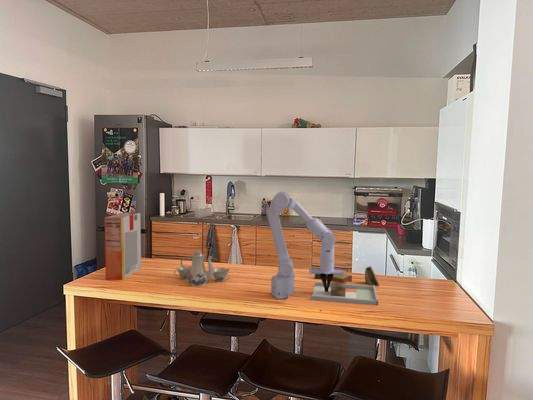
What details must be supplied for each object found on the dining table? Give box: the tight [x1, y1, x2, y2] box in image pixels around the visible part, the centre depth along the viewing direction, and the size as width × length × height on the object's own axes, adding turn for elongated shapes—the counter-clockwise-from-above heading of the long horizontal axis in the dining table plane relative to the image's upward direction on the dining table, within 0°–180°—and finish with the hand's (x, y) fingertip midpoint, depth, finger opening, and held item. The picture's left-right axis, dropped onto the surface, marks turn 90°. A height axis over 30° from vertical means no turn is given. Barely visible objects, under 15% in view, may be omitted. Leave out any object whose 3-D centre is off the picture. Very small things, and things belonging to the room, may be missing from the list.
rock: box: [364, 265, 380, 287], centre depth 177 cm, size 11×9×10 cm
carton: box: [314, 273, 353, 284], centre depth 183 cm, size 8×16×4 cm, turn 49°
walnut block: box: [331, 281, 347, 297], centre depth 160 cm, size 6×6×4 cm
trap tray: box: [310, 281, 379, 306], centre depth 159 cm, size 26×20×4 cm
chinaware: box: [174, 249, 230, 287], centre depth 181 cm, size 28×17×17 cm, turn 85°
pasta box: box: [104, 211, 142, 281], centre depth 192 cm, size 23×8×30 cm, turn 176°
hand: (326, 291), depth 161 cm, fingers closed
